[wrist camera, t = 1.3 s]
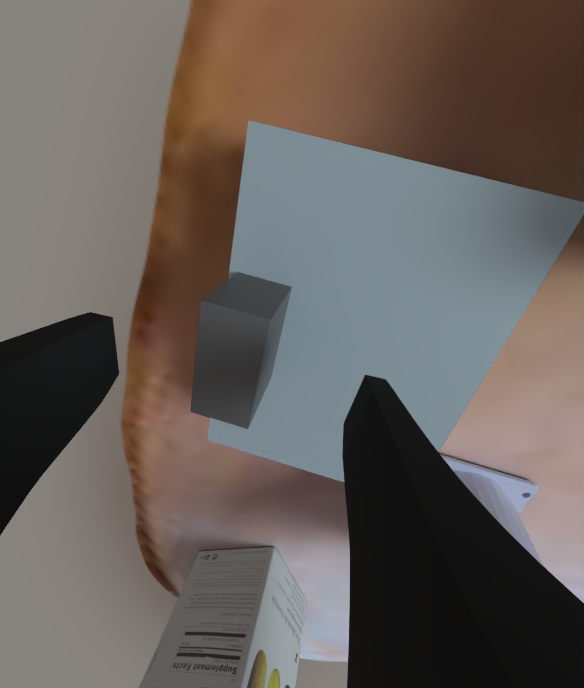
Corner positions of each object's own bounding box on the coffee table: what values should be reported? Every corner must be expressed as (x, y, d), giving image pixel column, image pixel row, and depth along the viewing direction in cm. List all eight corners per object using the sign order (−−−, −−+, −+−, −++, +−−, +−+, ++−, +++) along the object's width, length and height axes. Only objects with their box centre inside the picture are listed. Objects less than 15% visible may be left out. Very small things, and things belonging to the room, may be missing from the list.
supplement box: (309, 601, 35) (272, 915, 20) (235, 602, 38) (154, 876, 23) (274, 543, 31) (198, 869, 16) (196, 549, 34) (71, 830, 19)
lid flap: (406, 490, 20) (419, 575, 15) (212, 431, 20) (173, 496, 16) (576, 202, 12) (697, 212, 8) (254, 123, 13) (202, 93, 8)
